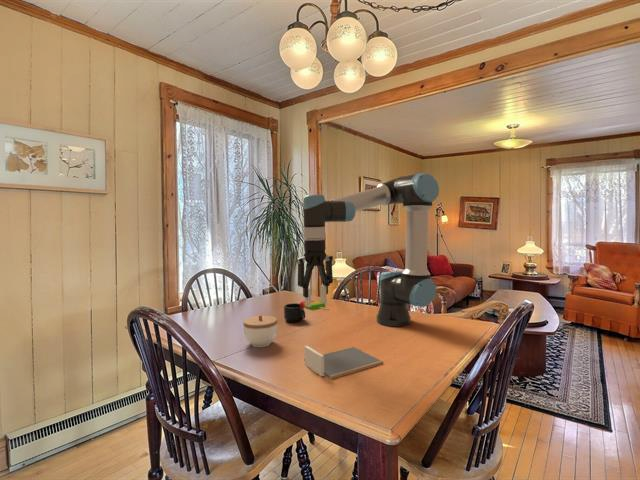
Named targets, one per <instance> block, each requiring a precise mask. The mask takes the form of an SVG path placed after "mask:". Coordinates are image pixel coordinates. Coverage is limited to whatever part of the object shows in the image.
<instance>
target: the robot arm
mask: <svg viewBox="0 0 640 480" xmlns="http://www.w3.org/2000/svg"><path fill="white" fill-rule="evenodd" d="M439 193H440V187H439V183H438V181H437V179H436V178H435V177H434V176H433V175H432V174H430V173H427V172H424V173H423V172H421V173H414V174H409V175H404V176H399V177H396V178H393V179H391V180H388V181H386V182H383V183H379V184H378V185H377V186H375V187H373V188H370V189H366V190H363V191H359V192H355V193H350V194H347V195H344V196H341V197H337V198H334V199H330V200H326V197H325V196H324V195H323V194H307V195H305V196H304V197H303V203H302V212H303V239H304V241H303V249H304V254H303V256H301V257H297V258H296V262H297V286H298V287H301V288H302V293H303V294H302V296H303V298H304V301H305V306H307V307H311V300H312V293H311V292H312V290H311V287H310V282H311V278H312V274H313V271H314V269H315V267H316V268H317V269H318V273H319V277H320V280H321V285H320V303H324V304H325V305H327V304H328V303H327V295H328V294H329V287H330V285H331V284H333V282H334V278H333V276H334V275H333V259H334V257H333V255H328V254H327V253H326V248H327V247H326V240H325V239H326V223H346V222H351V221H353V220H354V218H355V216H356V213H357V212H360V211H364V210H367V209H371V208H374V207H377V206H380V205H381V206H389V205H396V204H402V208H404V210H405V211H406V222H405V223H406V224H405V225H406V226H405V227H406V228H405V265H404V267H405V268H404V269H403V270H392V271H383V272H381V273H380V277H379V278H380V279H379V288H380V289H379V291H380V292H379V293H380V294H379V295H380V296H379V297H380V298H379V299H380V301H379V302H380V303H379V304H380V305H379V308H378V311H377V312H378V313H377V315H376V322H377V323H378V324H380V325H382V326H388V327H405V326H409V325H410V324H411V323H412V321H411V320H412V319H411V315H410V311H409V308H408V306H407V305H411V306H414V307H420V308H424V307H427V306H429V305H430V304H431V303H432V302H433V301H434V299H435V297H436V293H437V286H436V283H435V282H434V280H432V279H431V273H430V271H429V270H428V265H427V264H428V235H429V234H428V233H429V230H428V229H429V226H428V225H429V211H430V210H431V209H432V208H433V202H435V200H436V199H438V196H439ZM324 261H325V263H324ZM305 262H306V265H305Z"/></svg>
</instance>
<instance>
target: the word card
mask: <svg viewBox="0 0 640 480" xmlns="http://www.w3.org/2000/svg"><path fill="white" fill-rule="evenodd" d="M322 354H323V353H320V352H319V351H316V350H315V349H314V348H312V347H310V346H308V345H305V346H304V359H305V361H304V365H305V366H306V367H308V368H309V369H310V370H311V371H313V372H315V374H317V375H319V376H320V377H323V376H325V374H324V356H323V355H322Z"/></svg>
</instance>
